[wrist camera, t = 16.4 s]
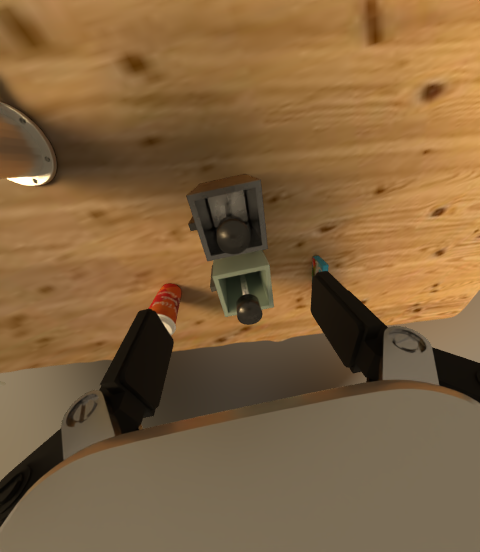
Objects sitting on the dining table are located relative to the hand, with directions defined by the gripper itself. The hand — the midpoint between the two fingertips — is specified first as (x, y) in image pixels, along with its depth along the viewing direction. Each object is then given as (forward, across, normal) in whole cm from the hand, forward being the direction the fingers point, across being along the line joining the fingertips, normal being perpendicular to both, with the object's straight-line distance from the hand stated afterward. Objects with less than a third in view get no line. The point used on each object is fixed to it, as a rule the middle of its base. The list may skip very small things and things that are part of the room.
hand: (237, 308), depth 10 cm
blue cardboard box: (+36, -23, +26) cm, 50 cm away
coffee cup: (+36, +21, +22) cm, 47 cm away
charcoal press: (+36, -1, 0) cm, 36 cm away
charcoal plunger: (+32, -1, 0) cm, 33 cm away
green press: (+36, -1, +14) cm, 38 cm away
